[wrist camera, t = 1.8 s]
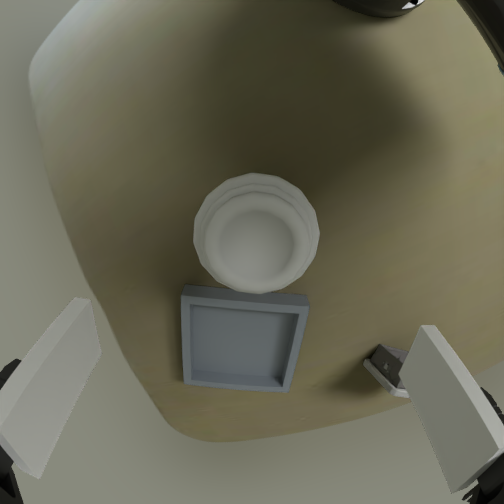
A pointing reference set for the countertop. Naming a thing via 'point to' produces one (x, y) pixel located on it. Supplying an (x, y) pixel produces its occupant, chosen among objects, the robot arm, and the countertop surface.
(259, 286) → the coffee cup
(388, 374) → the electrical switch
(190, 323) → the dock tray
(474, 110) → the countertop surface
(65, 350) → the robot arm
